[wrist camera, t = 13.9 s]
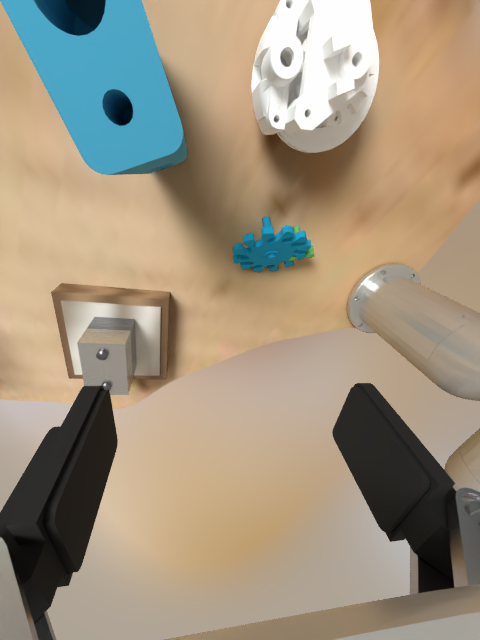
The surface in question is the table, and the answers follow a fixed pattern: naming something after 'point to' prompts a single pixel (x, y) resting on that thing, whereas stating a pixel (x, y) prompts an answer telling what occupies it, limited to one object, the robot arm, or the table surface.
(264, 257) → the gear
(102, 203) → the table surface
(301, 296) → the table surface
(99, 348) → the block
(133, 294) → the stand
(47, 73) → the block
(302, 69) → the mechanical part
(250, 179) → the table surface
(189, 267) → the table surface
